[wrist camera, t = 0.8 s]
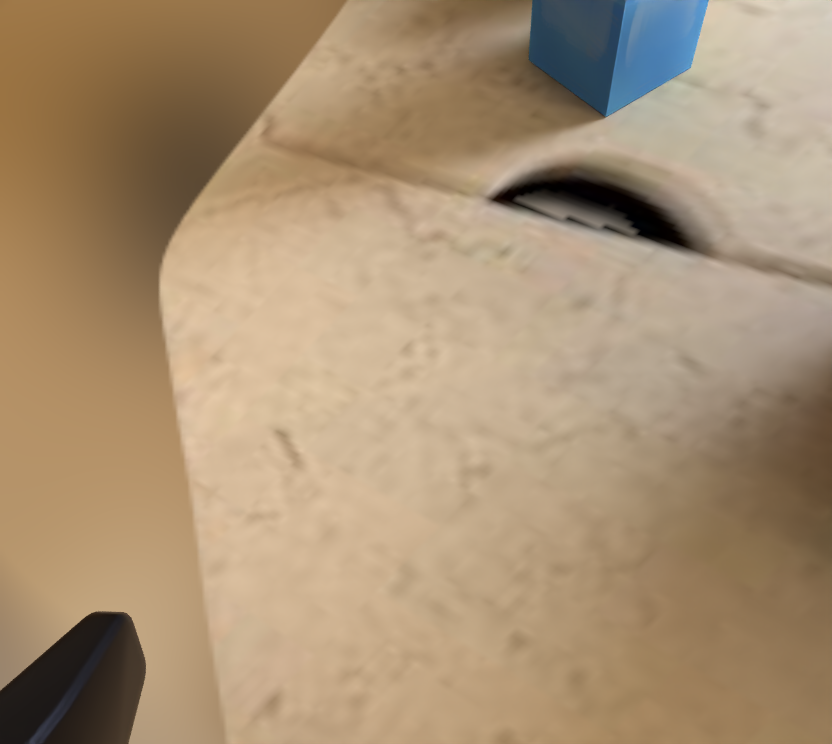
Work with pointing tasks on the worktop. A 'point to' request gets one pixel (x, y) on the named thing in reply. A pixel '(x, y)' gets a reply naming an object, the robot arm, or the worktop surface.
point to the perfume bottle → (614, 45)
